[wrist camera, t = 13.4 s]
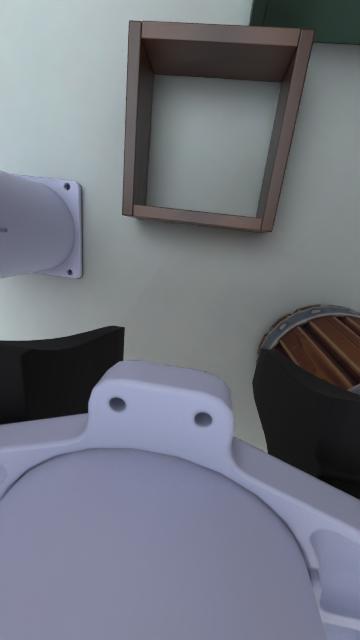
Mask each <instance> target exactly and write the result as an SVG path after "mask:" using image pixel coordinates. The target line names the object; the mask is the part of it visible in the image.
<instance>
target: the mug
mask: <svg viewBox="0 0 360 640" xmlns="http://www.w3.org/2000/svg"><path fill="white" fill-rule="evenodd" d="M260 348H264V349H271V350H275V351H277V352H278V353H280V354H282V355H283V356H285V357H286V358H288V359H289V360H291V361H292V362H294V363H295V364H297V365H298V366H300V367H301V368H303V369H305V370H306V371H308V372H310V373H312V374H313V375H315V376H317V377H319V378H321V379H323V380H325V381H327V382H329V383H331V384H333V385H335V386H338V387H340V388H343V389H345V390H348V391H350V392H353V393H355V394H358V395H360V313H358V312H355V311H353V310H351V309H348V308H343V307H339V306H334V305H330V306H321V305H314V306H308V307H304V308H301V309H297V310H296V311H295V312H294V314H287V315H285V316H284V317H282V318H281V319H279V320H278V321H277V322H276V323H275V324H274V325H273V326H272V327H271V328H270V333H268V334H266V335H264V337H263V339H262V341H261V343H260V346H259V349H258V352H257V354H258V357H259V352H260ZM257 361H258V358H257ZM257 361H256V363H257Z"/></svg>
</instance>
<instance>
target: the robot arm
mask: <svg viewBox="0 0 360 640" xmlns="http://www.w3.org/2000/svg"><path fill="white" fill-rule="evenodd" d="M68 184H69V185H70V189H69V190H67V185H68ZM69 270H71V271H72V274H70V273H69ZM30 272H32V273H39V274H46V275H54V276H61V277H68V278H79V277H81V275H82V233H81V186H80V184H79V183H78V182H76V181H72V180H62V179H53V178H43V177H34V176H24V175H14V174H8V173H5V172H2V171H0V278H5V277H10V276H15V275H20V274H25V273H30ZM124 331H125V327H119V326H107V327H103V328H99V329H96V330H92V331H88V332H84V333H80V334H76V335H72V336H67V337H61V338H54V339H45V340H32V341H0V640H360V395H358V394H355V393H353V392H350V391H348V390H345V389H343V388H340V387H338V386H335V385H333V384H331V383H329V382H327V381H325V380H323V379H321V378H319V377H317V376H315V375H313V374H312V373H310V372H308V371H306V370H305V369H303V368H301V367H300V366H298V365H297V364H295V363H294V362H292V361H291V360H289V359H288V358H286V357H285V356H283V355H282V354H280V353H278V352H277V351H275V350H271V349H264V348H260V352H259V357H258V361H257V365H256V370H255V374H254V378H253V382H252V383H253V392H254V399H255V403H256V406H257V410H258V413H259V417H260V420H261V424H262V427H263V431H264V434H265V438H266V443H267V449H268V453H266V452H264V451H262V450H260V449H258V448H256V447H254V446H252V445H250V444H248V443H246V442H244V441H242V440H240V439H238V438H236V437H234V436H233V435H234V430H235V427H234V418H233V409H232V400H231V391H230V389H229V388H228V386H227V385H226V384H225V383H224V382H223V380H222V379H221V378H220V377H217V376H215V375H213V374H210V373H208V372H205V371H200V370H194V369H187V368H181V367H175V366H169V365H163V364H156V363H150V362H144V361H138V360H130V361H123V353H124Z"/></svg>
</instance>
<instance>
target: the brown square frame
mask: <svg viewBox="0 0 360 640" xmlns="http://www.w3.org/2000/svg"><path fill="white" fill-rule="evenodd" d="M314 35H315V30H313V29H302V30H301V29H300V28H281V27H261V26H240V25H220V24H199V23H178V22H158V21H142V22H141V21H129V35H128V63H127V92H126V120H125V149H124V177H123V206H122V215H124V216H128V217H132V218H136V219H145V220H154V221H163V222H171V223H180V224H189V225H198V226H206V227H215V228H224V229H233V230H241V231H250V232H259V233H266V232H272V230H273V226H274V221H275V216H276V212H277V207H278V202H279V198H280V193H281V188H282V184H283V179H284V174H285V170H286V165H287V161H288V156H289V151H290V147H291V142H292V137H293V133H294V128H295V123H296V119H297V114H298V109H299V105H300V100H301V96H302V91H303V86H304V82H305V77H306V72H307V68H308V63H309V58H310V54H311V49H312V45H313V40H314ZM154 73H155V74H168V75H183V76H199V77H214V78H229V79H244V80H259V81H275V82H282V84H281V90H280V95H279V100H278V105H277V110H276V116H275V121H274V126H273V131H272V136H271V142H270V147H269V152H268V157H267V162H266V168H265V173H264V178H263V183H262V188H261V193H260V199H259V204H258V209H257V214H256V218H254V217H245V216H236V215H227V214H218V213H209V212H200V211H190V210H181V209H172V208H163V207H154V206H146V191H147V175H148V159H149V143H150V126H151V110H152V94H153V78H154Z"/></svg>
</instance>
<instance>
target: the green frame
mask: <svg viewBox="0 0 360 640" xmlns="http://www.w3.org/2000/svg"><path fill="white" fill-rule="evenodd" d="M249 26H261V27H281V28H300V29H301V30H302V29H313V30H315V35H314V40H313V42H329V43H348V44H360V0H253V2H252V9H251V16H250V22H249Z"/></svg>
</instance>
